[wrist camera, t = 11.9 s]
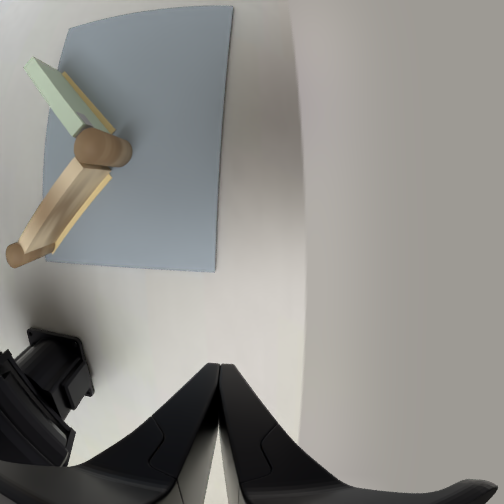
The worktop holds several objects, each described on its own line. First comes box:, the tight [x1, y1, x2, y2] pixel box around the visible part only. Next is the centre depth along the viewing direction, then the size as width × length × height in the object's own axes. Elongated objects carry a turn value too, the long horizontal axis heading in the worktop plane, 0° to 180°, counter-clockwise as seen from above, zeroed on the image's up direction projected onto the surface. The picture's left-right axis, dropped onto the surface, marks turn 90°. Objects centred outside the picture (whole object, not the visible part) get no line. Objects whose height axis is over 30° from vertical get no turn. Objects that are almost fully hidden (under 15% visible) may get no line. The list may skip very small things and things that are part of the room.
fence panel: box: [24, 57, 111, 138], centre depth 14 cm, size 8×1×4 cm, turn 41°
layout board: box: [43, 6, 233, 272], centre depth 17 cm, size 14×20×1 cm
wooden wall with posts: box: [6, 128, 132, 268], centre depth 16 cm, size 11×2×5 cm, turn 131°
